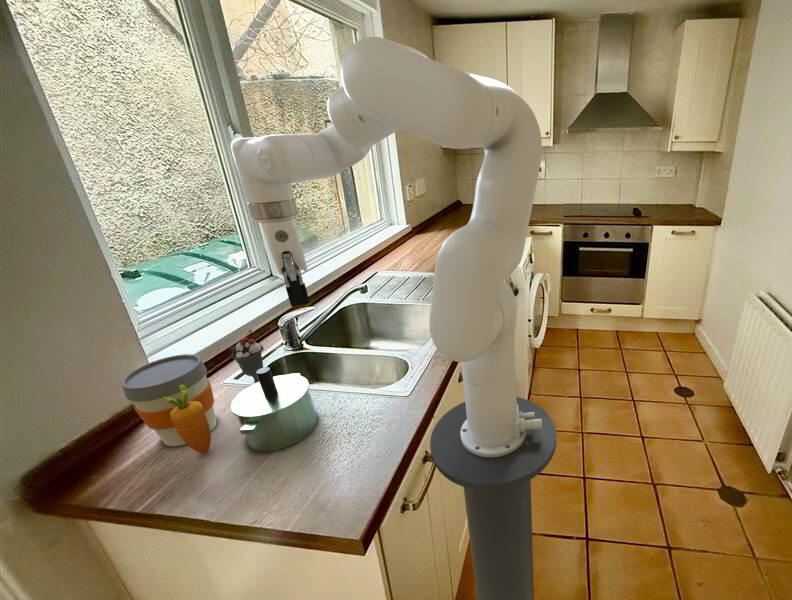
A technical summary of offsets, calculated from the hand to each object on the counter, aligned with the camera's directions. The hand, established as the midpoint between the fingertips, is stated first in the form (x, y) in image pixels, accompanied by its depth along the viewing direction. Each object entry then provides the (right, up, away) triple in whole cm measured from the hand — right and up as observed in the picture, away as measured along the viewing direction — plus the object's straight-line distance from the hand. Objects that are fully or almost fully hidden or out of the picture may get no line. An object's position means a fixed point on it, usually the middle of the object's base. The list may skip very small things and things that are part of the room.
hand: (298, 296), depth 78 cm
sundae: (-19, -22, +18) cm, 34 cm away
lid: (-5, -20, 0) cm, 20 cm away
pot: (-5, -28, +3) cm, 28 cm away
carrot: (-17, -31, -2) cm, 35 cm away
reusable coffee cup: (-25, -28, +4) cm, 38 cm away
